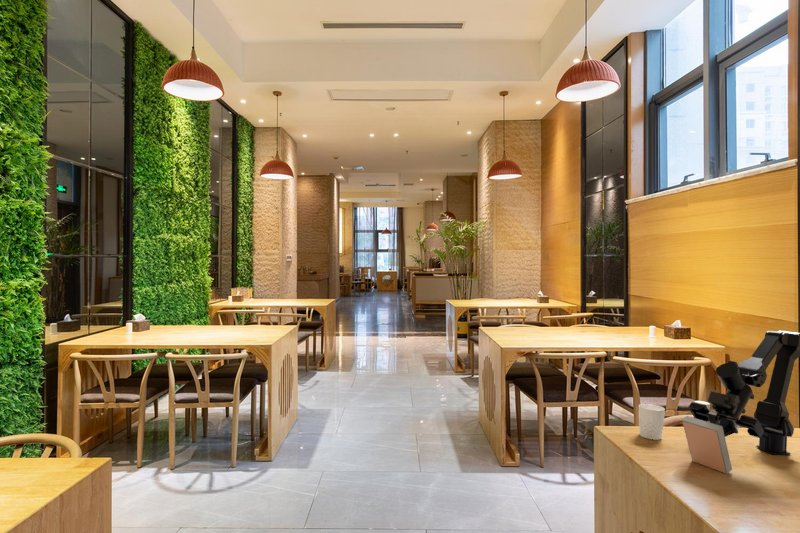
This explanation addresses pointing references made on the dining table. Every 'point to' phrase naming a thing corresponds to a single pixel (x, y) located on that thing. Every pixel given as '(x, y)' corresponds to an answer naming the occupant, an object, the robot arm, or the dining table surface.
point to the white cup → (651, 421)
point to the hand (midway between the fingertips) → (711, 441)
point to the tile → (707, 444)
